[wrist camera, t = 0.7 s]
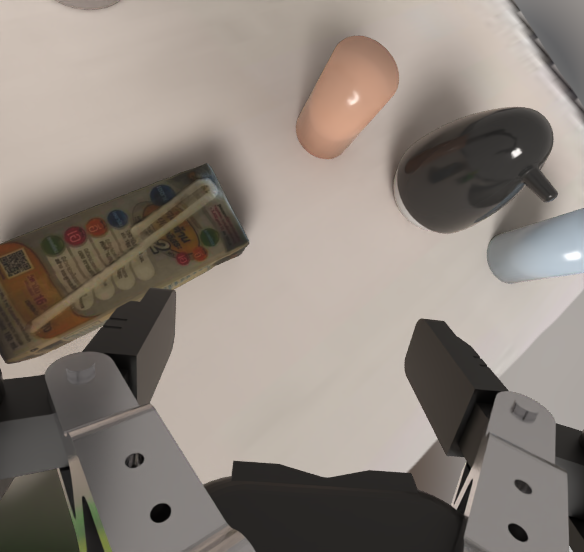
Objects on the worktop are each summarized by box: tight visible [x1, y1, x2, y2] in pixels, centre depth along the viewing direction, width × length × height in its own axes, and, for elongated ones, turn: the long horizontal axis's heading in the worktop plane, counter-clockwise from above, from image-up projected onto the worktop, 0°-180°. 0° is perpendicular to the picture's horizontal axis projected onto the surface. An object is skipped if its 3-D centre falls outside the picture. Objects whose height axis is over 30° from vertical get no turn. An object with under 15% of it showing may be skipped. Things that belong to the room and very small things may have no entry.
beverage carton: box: [0, 163, 249, 364], centre depth 30 cm, size 8×19×7 cm, turn 119°
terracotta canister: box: [296, 36, 399, 159], centre depth 35 cm, size 6×6×10 cm
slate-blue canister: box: [487, 208, 584, 284], centre depth 40 cm, size 6×6×10 cm
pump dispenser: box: [393, 107, 558, 234], centre depth 35 cm, size 10×10×15 cm
